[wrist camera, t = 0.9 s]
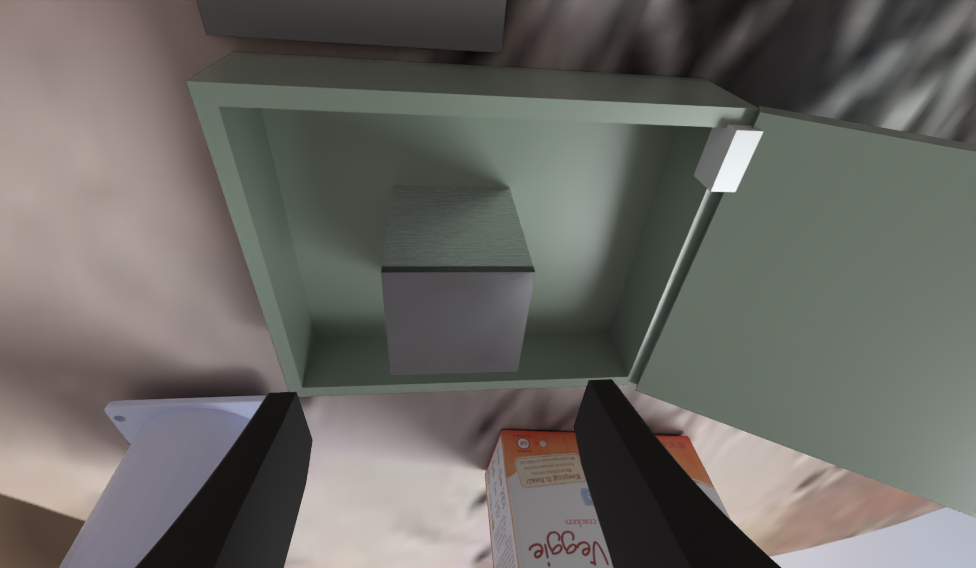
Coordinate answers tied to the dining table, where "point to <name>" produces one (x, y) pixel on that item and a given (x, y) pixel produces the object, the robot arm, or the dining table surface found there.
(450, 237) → the block
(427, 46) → the pad
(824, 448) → the case
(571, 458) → the cracker box
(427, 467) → the dining table surface
